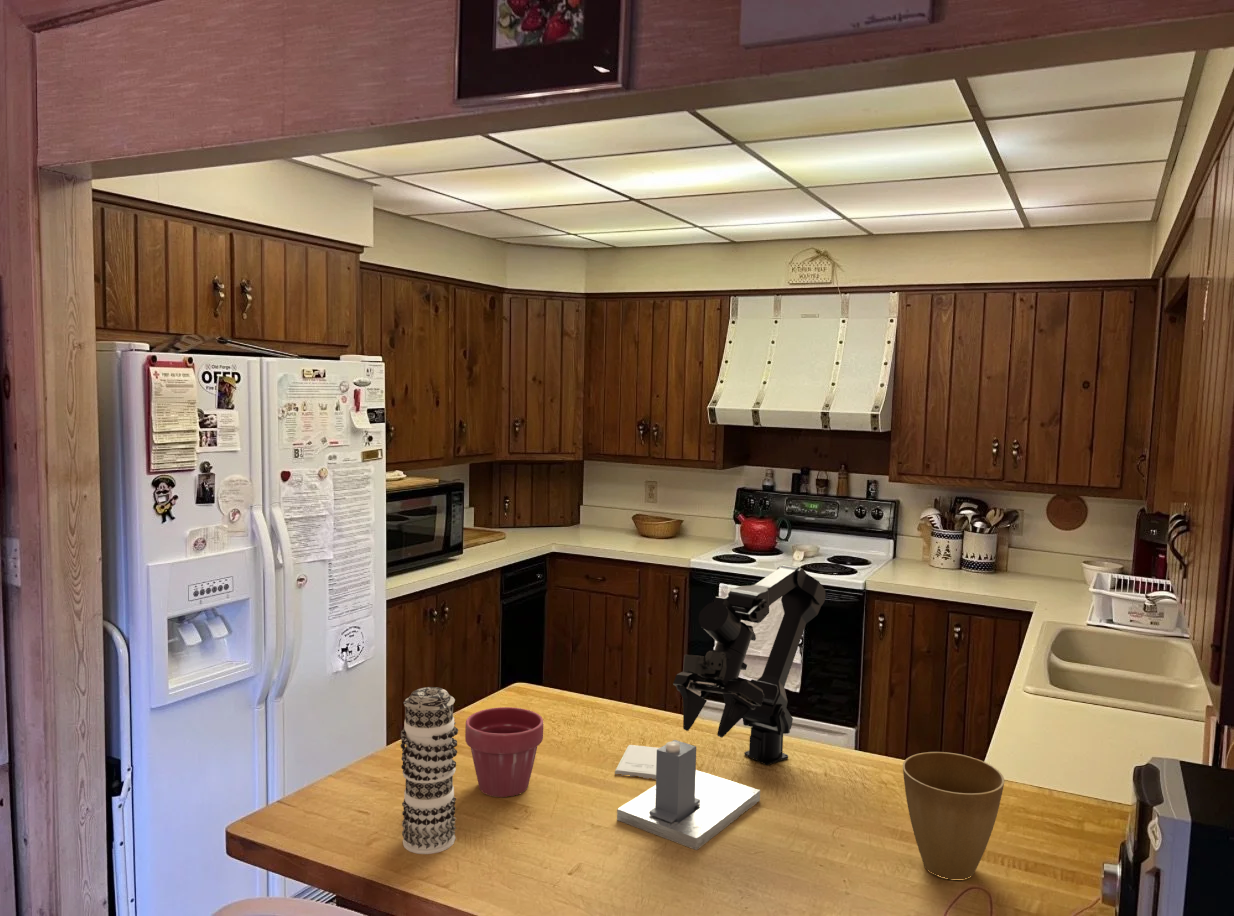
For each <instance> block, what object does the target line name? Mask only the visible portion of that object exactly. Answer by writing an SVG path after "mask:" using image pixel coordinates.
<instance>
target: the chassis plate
mask: <svg viewBox="0 0 1234 916" xmlns="http://www.w3.org/2000/svg"><path fill="white" fill-rule="evenodd" d="M695 798H697V799H700V803H699V804H698V805H696V806H695V811H694V813H692V814H691V815H690V816H688V817H687V818H685V819H684V820H682V821H681V822H680V823H678V822H675V821H673V822H672V823H671V822H668V821H666V820H663V819H660V818H657V817H655V816H652V815H649V811H650V810H652V809H653V808H655V801H656V784H654V786H652V787H650V788H648V789H646V790H645V791H644V792H642V793H640V794H639V795H637V796H636V797H634V798H632V799H631V800H629V801H628V802H626V803H624V804H623V805H621V806H619V807H618V808H617V810H616V821H619V822H622V823H623V824H626V825H629V826H631V827H634V828H637V829H639V830H641V831H644V832H647V833H650V834H653V835H656V836H658V837H660V838H663V839H666V840H668V841H671V842H674V843H677V844H679V845H682V846H683V847H684V846H685V847H687V848H690V849H692V850H696V851H698V850H699V849H700V848H701V847H703V846H704V845H705V844H706V843H708V842H709V841H710V840H712V838H713V839H714V837H715V836H717V835H718V834H720V832H721V831H723V830H725V828H727V827H728V826H729V825H730V823H731V824H732V823H733V822H735V821H736V820H737V819H739V818H740V817H741V816H742V815H744V814H745V813H746V812H747V811H748V809H749V808H750V809H752V808H753V807H752V806H755V805H757V804H758V803H759V802H760V801H761V789H757V788H755V787H751V786H749V785H748V786H747V785H745V784H742V783H738V782H736V781H732V780H729V779H727V778H724V777H720V776H716V775H713V774H710V773H707V772H704V771H701V770H698V769H696V777H695ZM757 802H758V803H757ZM750 809H749V810H750ZM745 811H746V812H745ZM744 812H745V813H744ZM743 813H744V814H743ZM741 814H742V815H741ZM740 815H741V816H740ZM739 816H740V817H739ZM734 820H735V821H734Z"/></svg>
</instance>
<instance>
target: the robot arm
mask: <svg viewBox="0 0 1234 916" xmlns="http://www.w3.org/2000/svg"><path fill="white" fill-rule="evenodd" d="M779 599H780V601H781V605H782V608H783V617H782V618H781V619H782V620H781V622H780V625H779V628H778V630H777V633H776V635H775V639H774V641H773V643H772V644H773V645H772V647H771V650H770V652H769V656H768V659H767V661H766V663H765V666H764V670H763V672H762V674H761V676H760V677H759V678H758V679H753V678H752V679H750V680H748V679H745V678H739V676H740V673H741V671H742V670H743V671H746V670H747V668H748V664H747V663H745V662H744V661H745V658H746V656H747V652H748V650H749V646H750V643H751V641H756V639H757V638H756V633H755V631H754V628H753V625H748V624H747V623H745V622H750V623H756V624H759V623H762V622H763V620H764V619H765V618H766V617H768V615H769V614H770V606H771V605H772V604H773V603H775V602H776V601H777V600H779ZM825 600H826V588H824V586H823V585H822V584H821V583H820V581H819V580H818V579H817V578H815V577H813V576H811V575H810V574H809V573H807V572H806V571H805V570H804V568H801V567H800V566H796V565H790V564H789V565H788V564H782V565H779V566H778V567H777V568H776V570H774V571H773V572H771V573H770V574H768V575H767V576H765V577H764V578H762V579H761V580H760V581H758V582H756V583H754V584H751V585H741V586H737V587H734V588H732V589H731V590H730V591H729V592H728V594H726V596H724V597H721V596H715V598H714V602H713V601H712V602H710V603H708V604H706V605H705V606H704V607H703V608H702V609H701V610H700V612H698V613H699V614H698V624H699V625H700V627H701V628H702V629H703V630H704V631H705V632H706V633H707V634H708V635H709V636H710V637H711V638H713V640H714V641H715V642H717V643H716V644H715V648H714V650H708V651H707V652H706V654H705V656H703V655H694V654H684V655H683V668H682V671H681V672H679V673H677V674H676V676H675V678H674V681H673V683H672V684H673V686H675V687H676V690H677V691H678V692H679V693H680V695H681V697H682V702H683V703H682V705H683V710H682V711H683V717H682V719H683V723H682V724H683V726H682V729H683V730H684V731H686V732H689V730H690V729H691V728H692V727H693V725H694V723H695V722H696V721H697V719H698V717H699V715H700V713H701V712H702V710H703V708H704V707H705V705H706V703H707V701H708V700H707V699H705V698H706V697H708V696H709V694H710V693H713V694H714V693H715V694H722V695H723V700H724V707H723V711H722V714H721V718H720V720H719V725H718V729H717V732H716V733H717V734H716V735H717V737H719V738H723V737H725V736H726V734H728V733H729V731H731V730H732V729H733V727H735V725H736V724H737V723H738V722H740V721H741V720H742V722H743V723H742V724H743V726H745V727H746V726H747V727H750V735H749V744H748V745H749V747H748V748H749V750H747V751H743V752H744V754H743V755H745V756H746V757H748V758H750V759H752V760H755V761H757V762H759V763H761V764H763V765H766V766H770V765H773V764H775V763H778V762H781V761H783V760H786V759H788V758H789V755H788V754H787V753H785V752H784V751H783V747H784V735H786V734H787V735H788V734H790V733H791V731H790V730H792V726H793V720H794V719H793V717H792V715H791V713H790V711H789V710H788V708H787V707H788V698H787V694H786V689H785V686H786V682H787V680H788V677H789V674H790V672H791V671H790V670H791V668H792V665H793V662H794V659H795V656H796V653H797V650H798V647H799V644H800V643H801V639H802V636H803V634H804V631H805V628H806V625H807V624H808V623H809V622H810V621H812V620H813V619H814V618H815V617H817V616H818V614H819V612H820V610H821V607H822V606H823V604H824V603H825ZM743 621H745V622H743ZM696 674H697V675H696Z"/></svg>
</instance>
